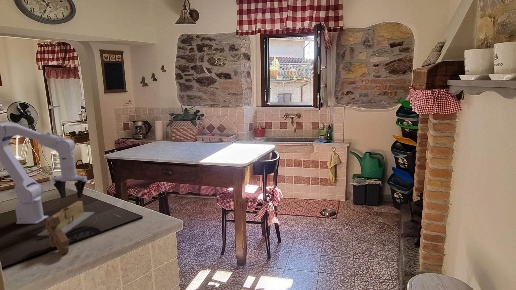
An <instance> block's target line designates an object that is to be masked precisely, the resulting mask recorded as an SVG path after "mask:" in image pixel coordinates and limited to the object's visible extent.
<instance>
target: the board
mask: <svg viewBox="0 0 516 290" xmlns="http://www.w3.org/2000/svg"><path fill="white" fill-rule="evenodd" d="M94 214H95V211H84V214H83V215H81V216H80V217H78V218H77V219H75V220H74V221H72V223H69V224H67V225H66V226H64V227H63V228H61V230H62V232H64V233H65V234H67V233H68V232H70V231H72V228H73V229H74V228H76V227H77V226H78V225H80V224H82V222H84V221H85V220H87V219H88V218H90V217H91V216H93V215H94ZM49 233H50V232H48V231H47V230H46V229H44V230H42V231H41V232H39V233H37V237H49Z"/></svg>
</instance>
